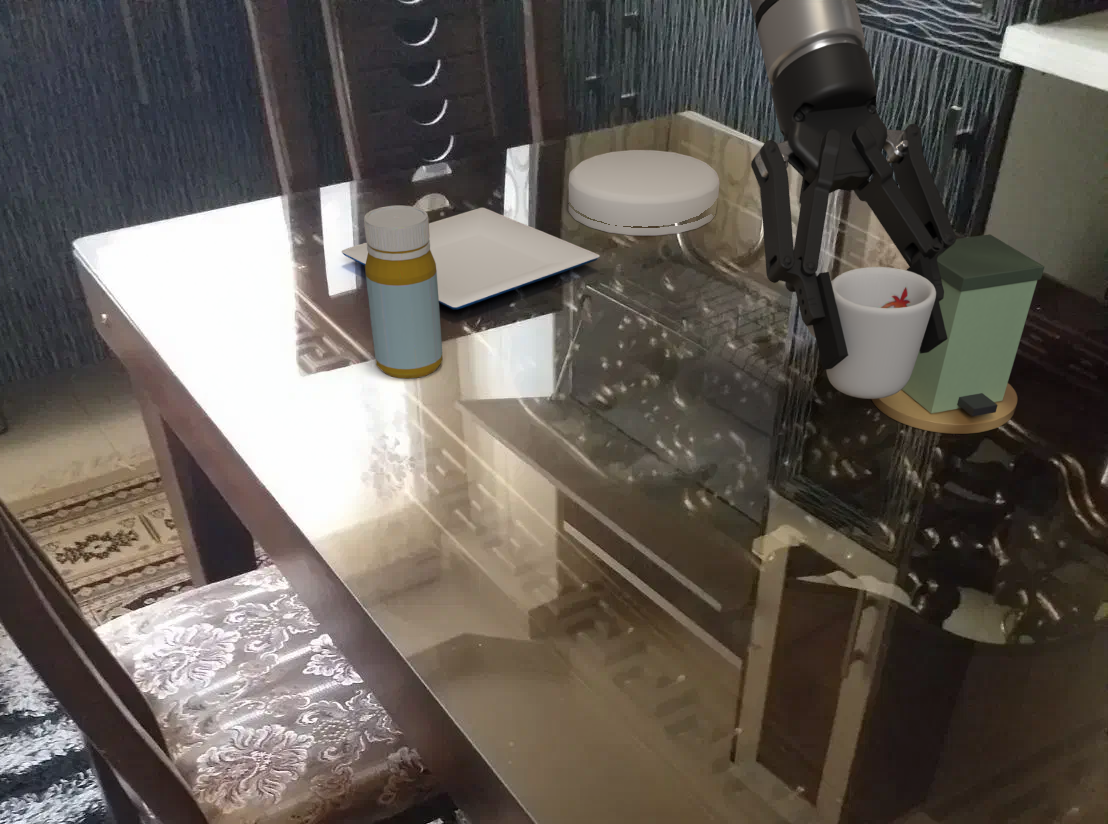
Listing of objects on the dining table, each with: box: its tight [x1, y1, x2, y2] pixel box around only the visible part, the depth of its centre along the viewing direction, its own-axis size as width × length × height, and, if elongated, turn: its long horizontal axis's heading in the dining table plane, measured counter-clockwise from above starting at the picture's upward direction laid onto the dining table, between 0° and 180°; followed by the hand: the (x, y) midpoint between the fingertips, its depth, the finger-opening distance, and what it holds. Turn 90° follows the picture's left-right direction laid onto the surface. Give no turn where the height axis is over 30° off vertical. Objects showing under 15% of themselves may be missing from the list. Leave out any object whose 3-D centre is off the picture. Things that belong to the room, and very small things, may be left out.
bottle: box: [363, 205, 443, 380], centre depth 115 cm, size 7×7×15 cm
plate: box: [341, 207, 601, 310], centre depth 138 cm, size 22×22×2 cm
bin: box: [902, 234, 1045, 416], centre depth 108 cm, size 11×8×13 cm
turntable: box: [871, 382, 1018, 435], centre depth 114 cm, size 14×14×1 cm
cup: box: [806, 266, 936, 400], centre depth 91 cm, size 11×8×8 cm
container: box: [567, 149, 720, 237], centre depth 152 cm, size 20×20×5 cm
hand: (885, 354), depth 89 cm, fingers closed on cup, 8 cm apart
